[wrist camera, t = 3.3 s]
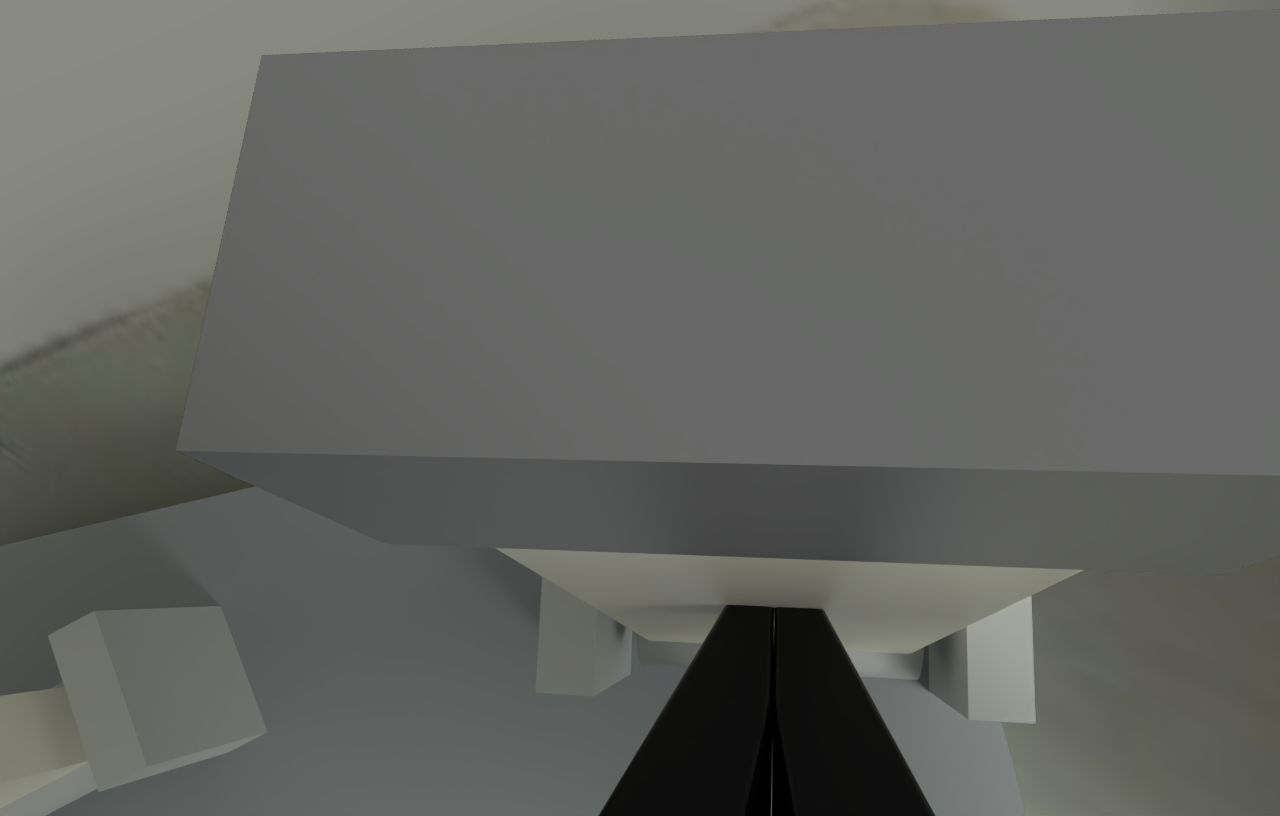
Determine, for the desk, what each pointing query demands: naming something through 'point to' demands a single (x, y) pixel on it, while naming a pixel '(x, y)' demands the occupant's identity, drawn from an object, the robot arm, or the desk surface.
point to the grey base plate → (397, 674)
